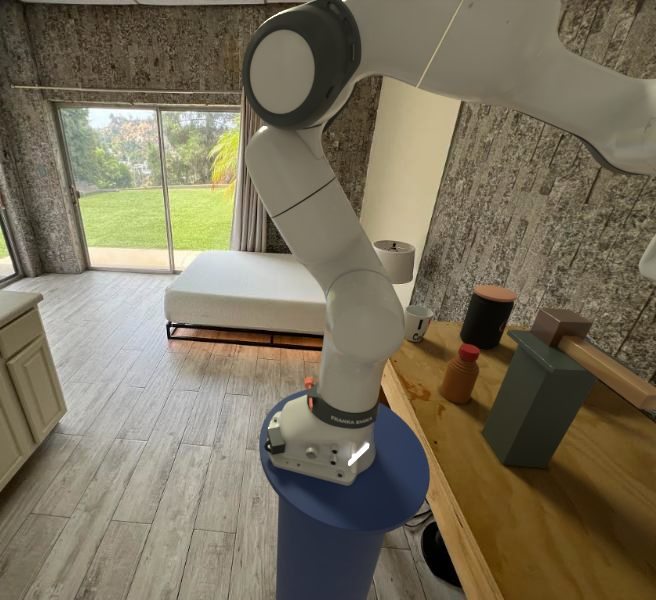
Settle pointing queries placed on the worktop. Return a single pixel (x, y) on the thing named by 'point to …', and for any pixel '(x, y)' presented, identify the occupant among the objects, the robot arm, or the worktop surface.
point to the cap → (469, 352)
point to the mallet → (591, 354)
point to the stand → (537, 401)
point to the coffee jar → (487, 316)
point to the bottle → (459, 380)
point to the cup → (416, 322)
